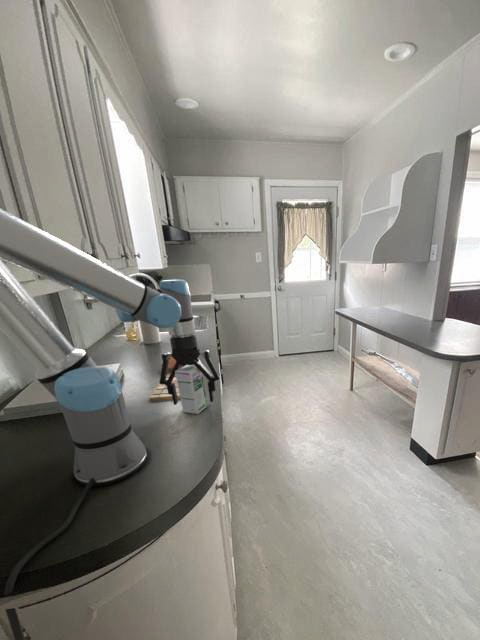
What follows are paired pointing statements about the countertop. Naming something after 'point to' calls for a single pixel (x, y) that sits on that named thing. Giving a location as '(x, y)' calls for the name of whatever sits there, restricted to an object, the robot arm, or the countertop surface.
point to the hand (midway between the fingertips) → (194, 401)
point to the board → (164, 391)
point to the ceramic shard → (172, 365)
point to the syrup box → (191, 389)
